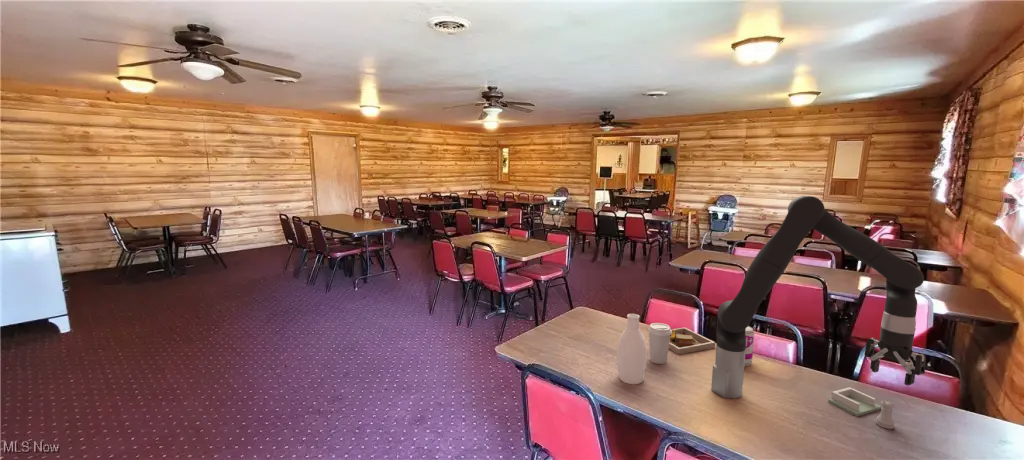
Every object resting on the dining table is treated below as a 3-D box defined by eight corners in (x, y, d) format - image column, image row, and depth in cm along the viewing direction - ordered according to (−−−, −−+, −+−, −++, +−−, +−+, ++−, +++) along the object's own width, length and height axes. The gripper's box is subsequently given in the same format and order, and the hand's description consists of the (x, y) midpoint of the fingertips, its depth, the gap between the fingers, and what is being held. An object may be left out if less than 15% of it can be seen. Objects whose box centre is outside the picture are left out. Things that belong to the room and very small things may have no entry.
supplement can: (754, 367, 168) (757, 332, 166) (732, 365, 170) (735, 330, 168) (747, 358, 176) (750, 324, 174) (726, 356, 178) (729, 323, 176)
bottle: (651, 378, 160) (654, 315, 157) (637, 389, 152) (640, 323, 148) (624, 369, 168) (626, 308, 164) (610, 379, 160) (612, 315, 156)
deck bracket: (857, 416, 135) (858, 406, 134) (828, 402, 143) (829, 392, 143) (880, 409, 139) (882, 399, 138) (851, 395, 147) (852, 386, 147)
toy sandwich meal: (698, 340, 196) (698, 330, 195) (696, 351, 184) (697, 341, 183) (669, 335, 201) (670, 326, 201) (666, 346, 189) (667, 336, 189)
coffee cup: (645, 363, 172) (647, 329, 170) (647, 353, 181) (648, 321, 179) (670, 367, 169) (672, 332, 167) (670, 357, 178) (672, 324, 175)
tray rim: (678, 354, 180) (679, 349, 180) (650, 337, 198) (650, 332, 198) (714, 347, 187) (715, 342, 187) (684, 332, 205) (684, 327, 204)
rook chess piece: (871, 421, 132) (874, 398, 131) (884, 420, 133) (887, 397, 132) (884, 430, 128) (888, 406, 127) (898, 429, 128) (901, 405, 127)
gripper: (863, 321, 131) (857, 369, 133) (919, 338, 118) (911, 391, 120) (878, 318, 134) (872, 365, 136) (935, 334, 120) (927, 387, 123)
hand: (891, 378), depth 128 cm, fingers open, 8 cm apart
